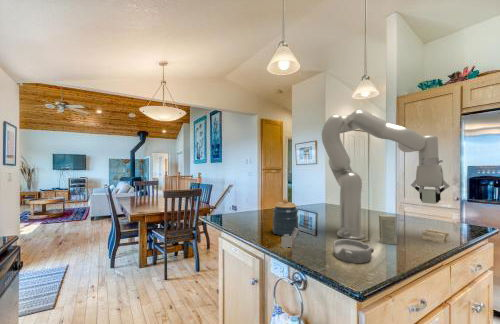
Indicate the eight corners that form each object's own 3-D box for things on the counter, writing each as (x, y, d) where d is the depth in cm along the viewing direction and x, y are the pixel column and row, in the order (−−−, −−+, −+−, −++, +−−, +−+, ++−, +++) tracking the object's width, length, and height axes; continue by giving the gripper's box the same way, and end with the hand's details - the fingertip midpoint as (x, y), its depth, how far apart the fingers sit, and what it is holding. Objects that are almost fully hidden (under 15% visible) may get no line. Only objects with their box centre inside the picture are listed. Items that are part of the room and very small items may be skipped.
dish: (352, 267, 85) (352, 252, 85) (324, 254, 98) (324, 241, 98) (382, 260, 91) (382, 246, 91) (352, 249, 103) (352, 237, 103)
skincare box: (394, 242, 113) (394, 214, 113) (396, 244, 109) (396, 216, 109) (378, 240, 115) (378, 213, 115) (380, 243, 111) (380, 215, 111)
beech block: (443, 244, 111) (443, 235, 111) (422, 240, 117) (422, 231, 117) (449, 241, 115) (449, 232, 116) (429, 237, 122) (429, 229, 122)
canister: (302, 232, 129) (302, 198, 130) (292, 238, 118) (292, 200, 119) (279, 229, 136) (279, 196, 136) (268, 234, 125) (268, 199, 126)
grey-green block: (435, 203, 112) (434, 190, 112) (422, 202, 116) (421, 189, 116) (437, 202, 116) (437, 189, 116) (425, 201, 119) (424, 189, 120)
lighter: (282, 248, 104) (282, 228, 104) (281, 246, 106) (281, 227, 106) (298, 247, 105) (298, 228, 105) (297, 246, 107) (297, 227, 107)
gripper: (453, 161, 113) (455, 202, 112) (410, 162, 125) (411, 199, 125) (450, 161, 108) (452, 204, 107) (405, 162, 120) (406, 200, 120)
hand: (430, 201), depth 116 cm, fingers closed on grey-green block, 5 cm apart
